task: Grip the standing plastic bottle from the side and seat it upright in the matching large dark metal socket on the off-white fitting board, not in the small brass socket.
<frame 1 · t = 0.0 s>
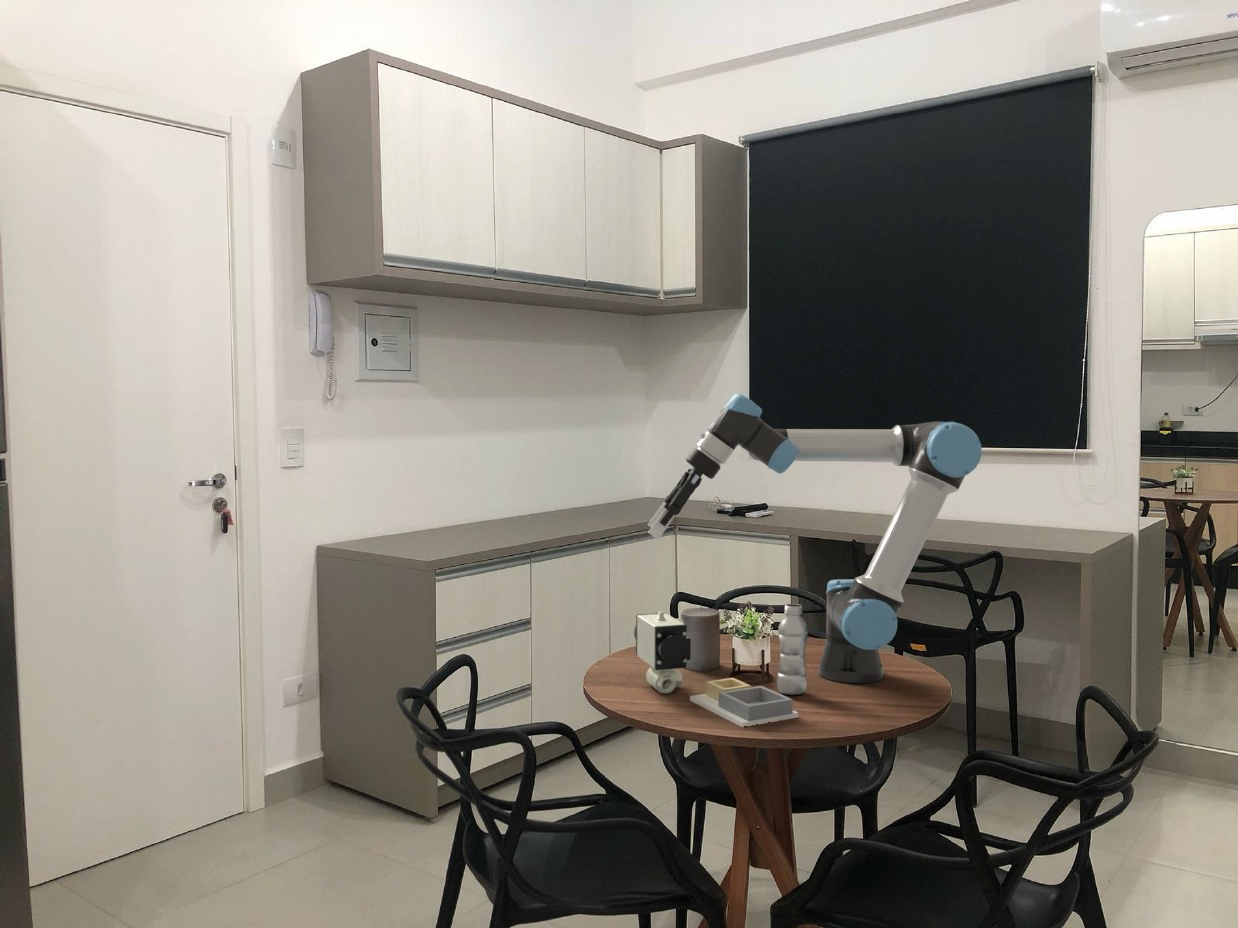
hand: (652, 532, 222), 36 cm above the table, tool tilted 35°, fingers open, 13 cm apart
fitting board: (742, 708, 210), on the table
plastic bottle: (791, 694, 221), on the table
pillar candle: (699, 666, 244), on the table
ball valve: (663, 690, 224), on the table
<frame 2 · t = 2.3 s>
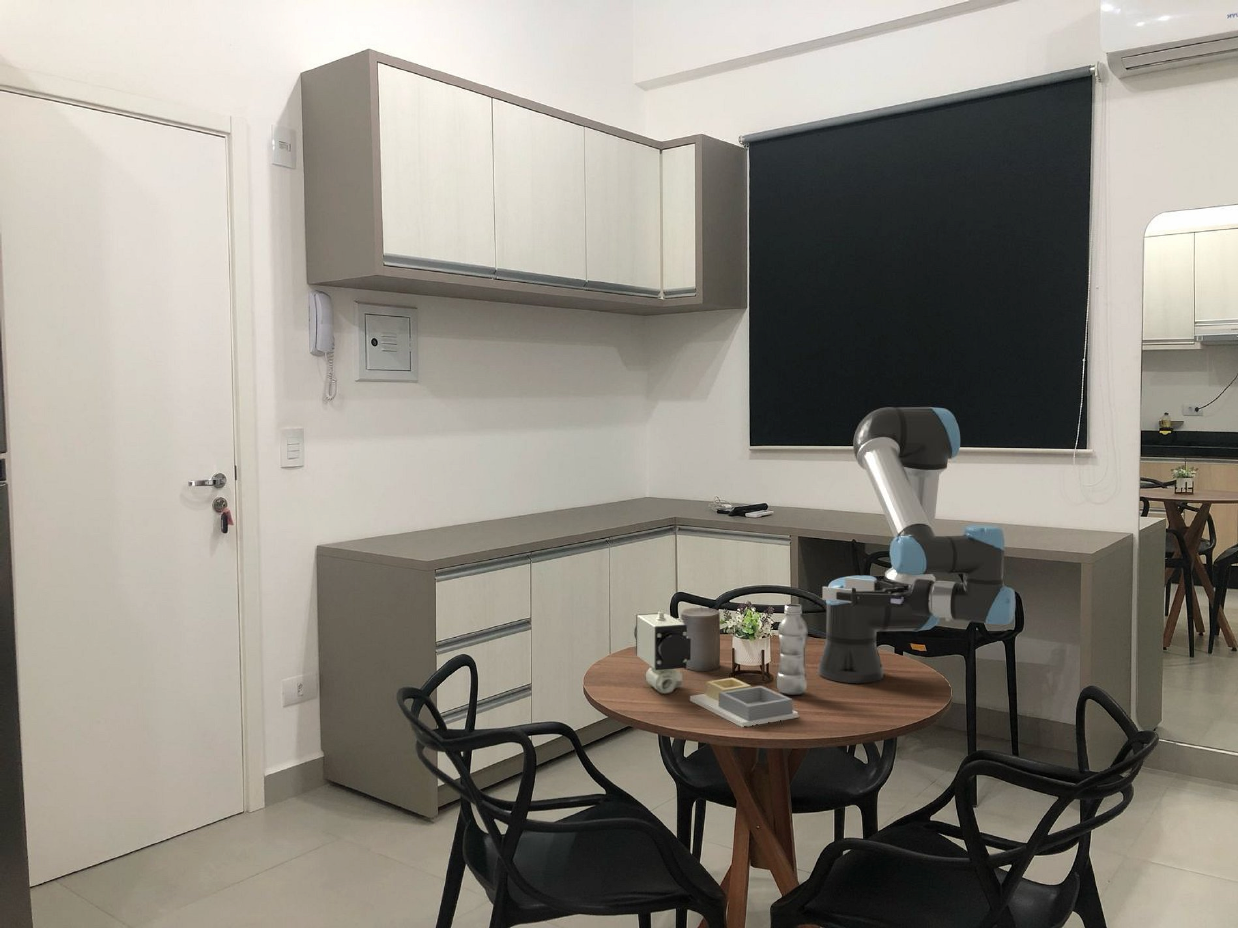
hand: (834, 588, 214), 25 cm above the table, tool horizontal, fingers open, 13 cm apart
nothing on the table moved.
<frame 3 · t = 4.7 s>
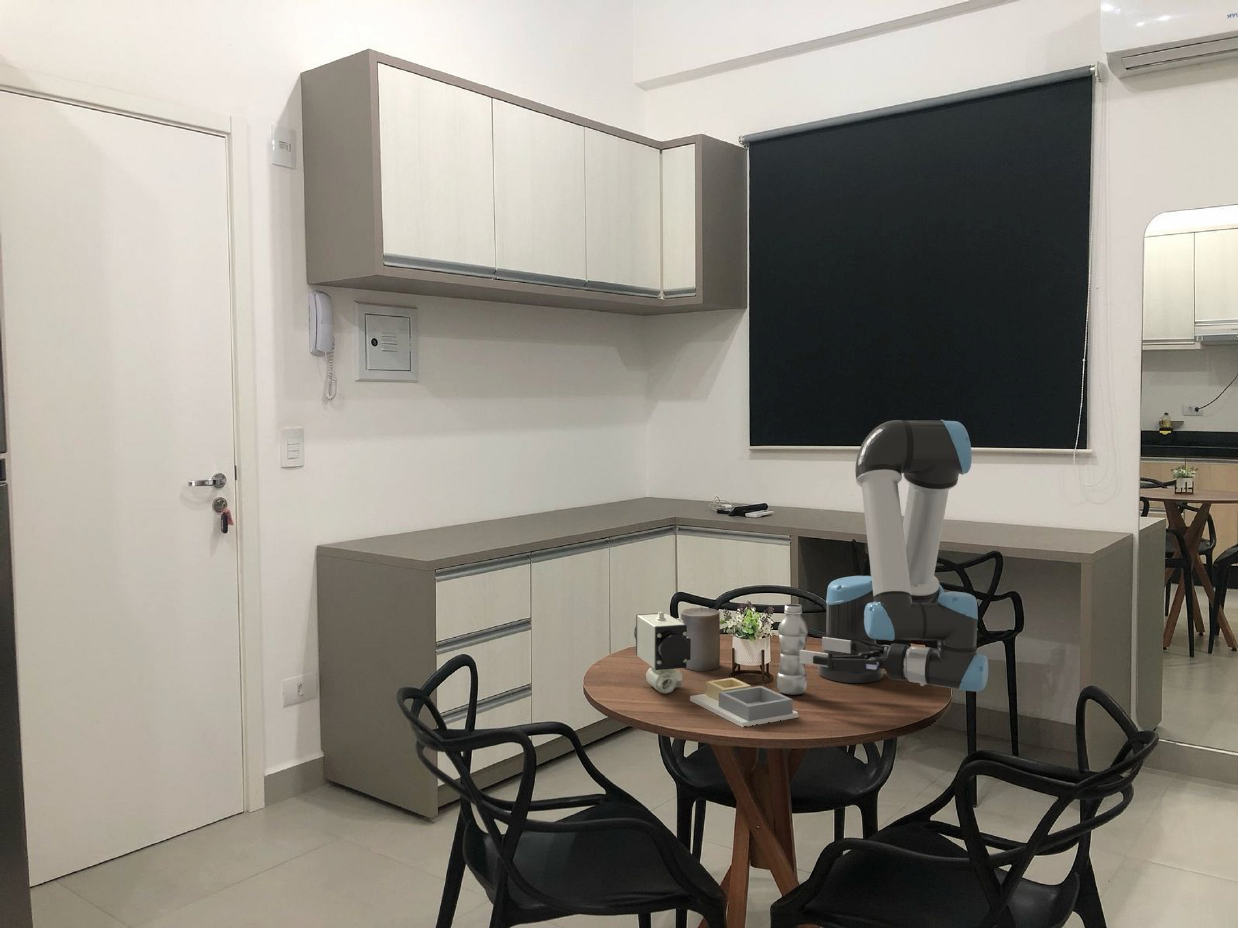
hand: (811, 649, 217), 11 cm above the table, tool horizontal, fingers open, 13 cm apart
nothing on the table moved.
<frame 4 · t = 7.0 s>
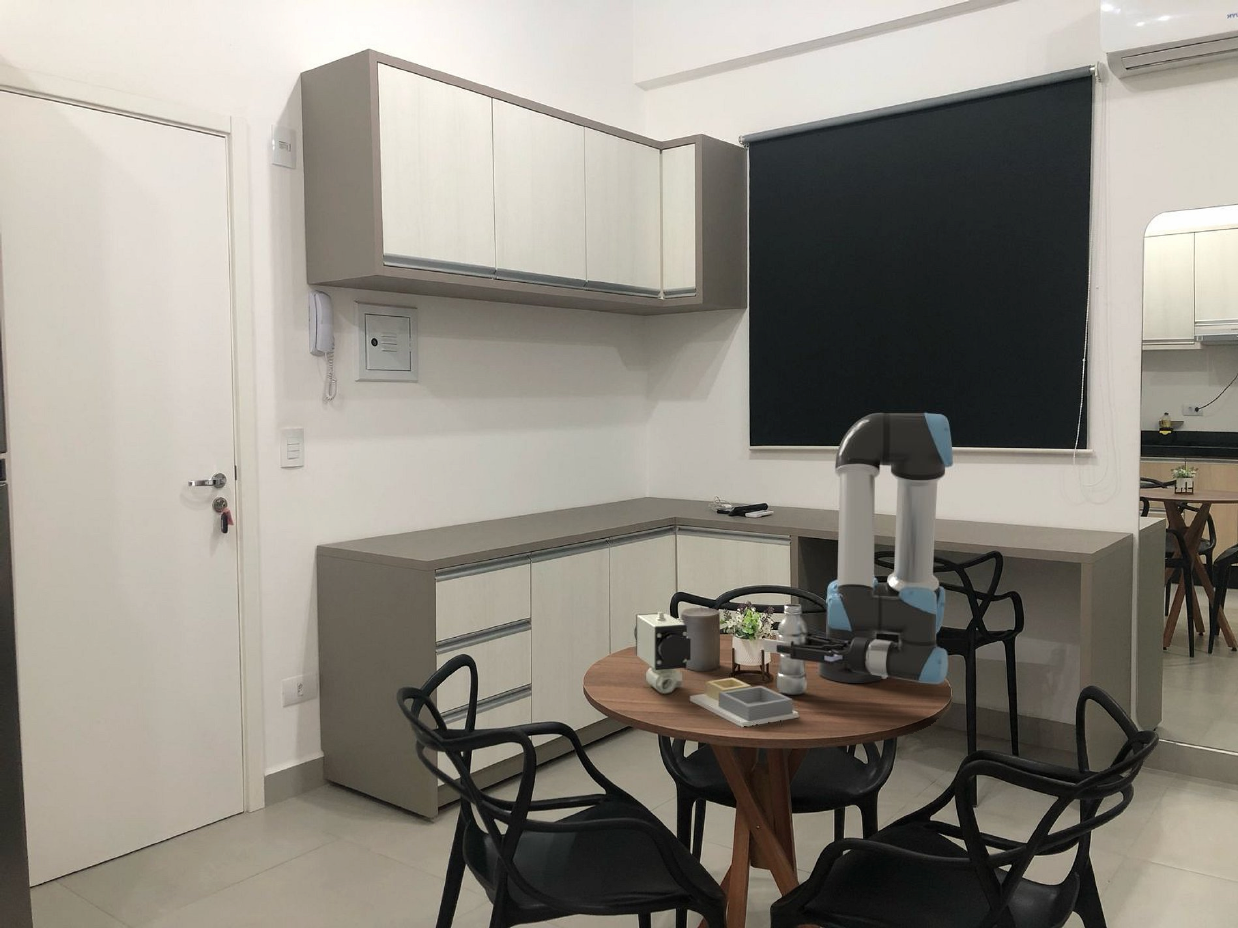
hand: (771, 642, 223), 11 cm above the table, tool horizontal, fingers closed on plastic bottle, 6 cm apart
plastic bottle: (791, 694, 221), on the table, touching gripper
everything else where it was.
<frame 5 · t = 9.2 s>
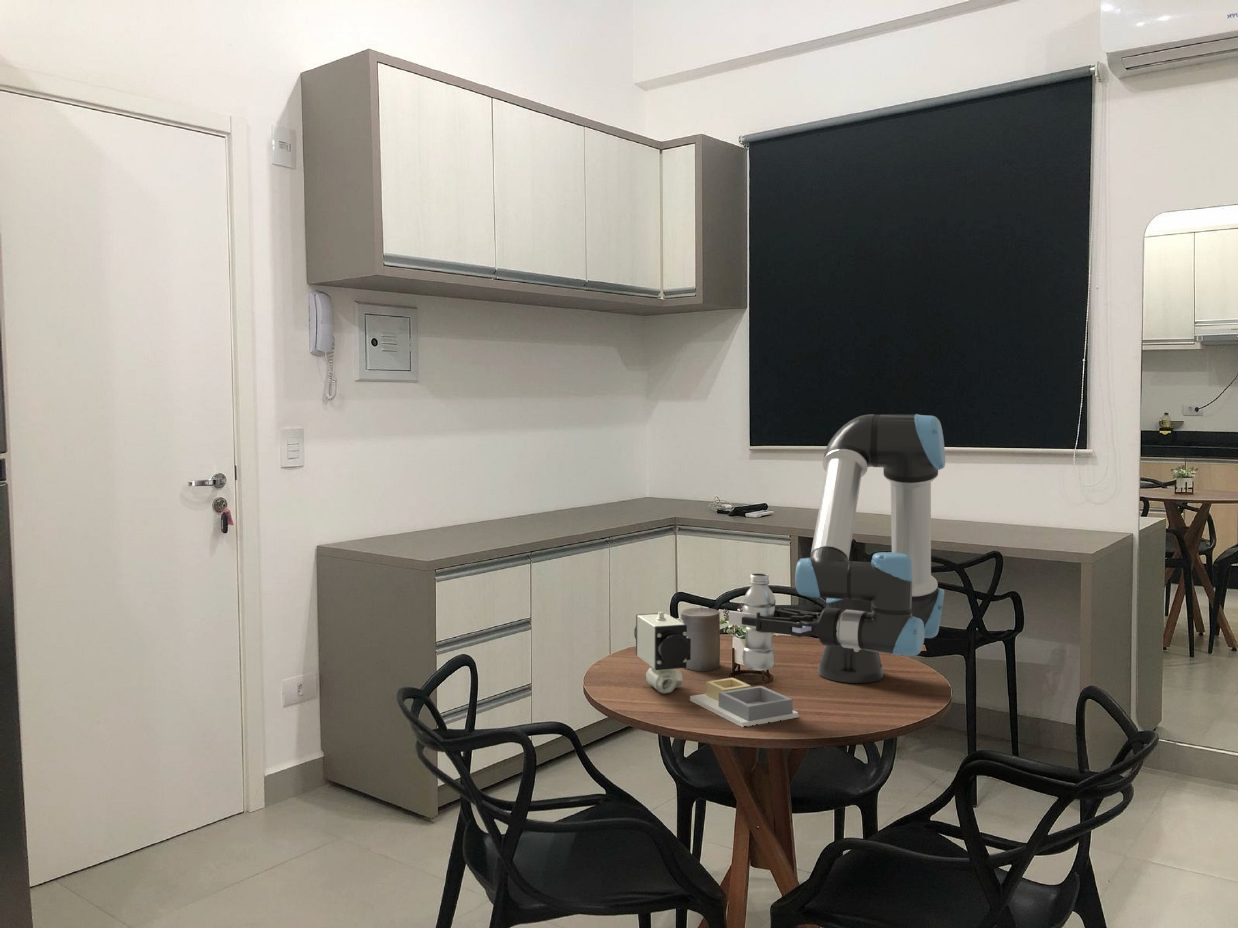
hand: (736, 614, 208), 20 cm above the table, tool horizontal, fingers closed on plastic bottle, 6 cm apart
plastic bottle: (758, 670, 206), point 9 cm above the table, touching gripper
everything else where it was.
when the fingers open (13 cm above the table, at t = 11.3 s): plastic bottle stays where it is, resting on fitting board.
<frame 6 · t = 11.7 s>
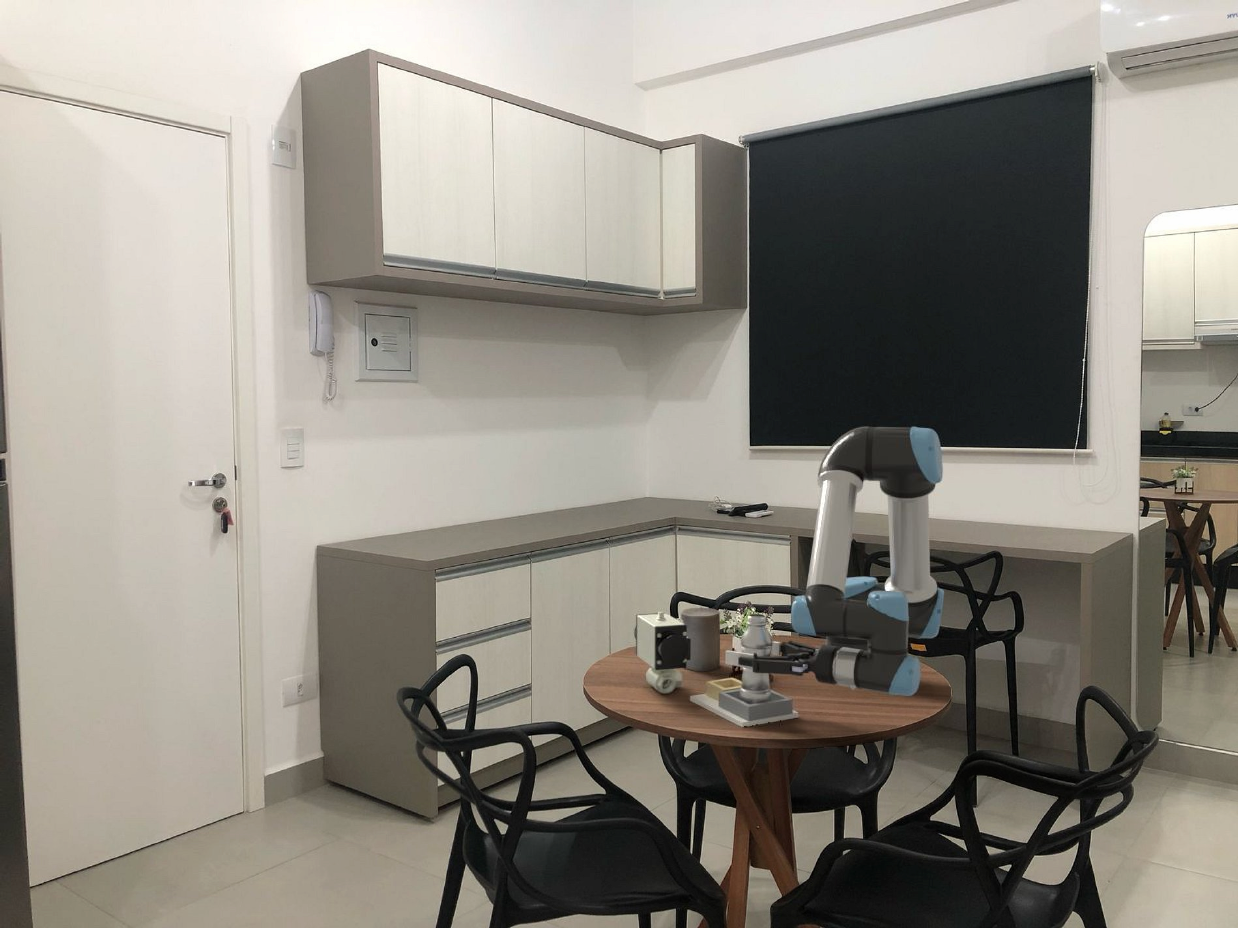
hand: (739, 650, 207), 13 cm above the table, tool horizontal, fingers open, 11 cm apart
plastic bottle: (754, 710, 206), point 1 cm above the table, touching fitting board
everything else where it was.
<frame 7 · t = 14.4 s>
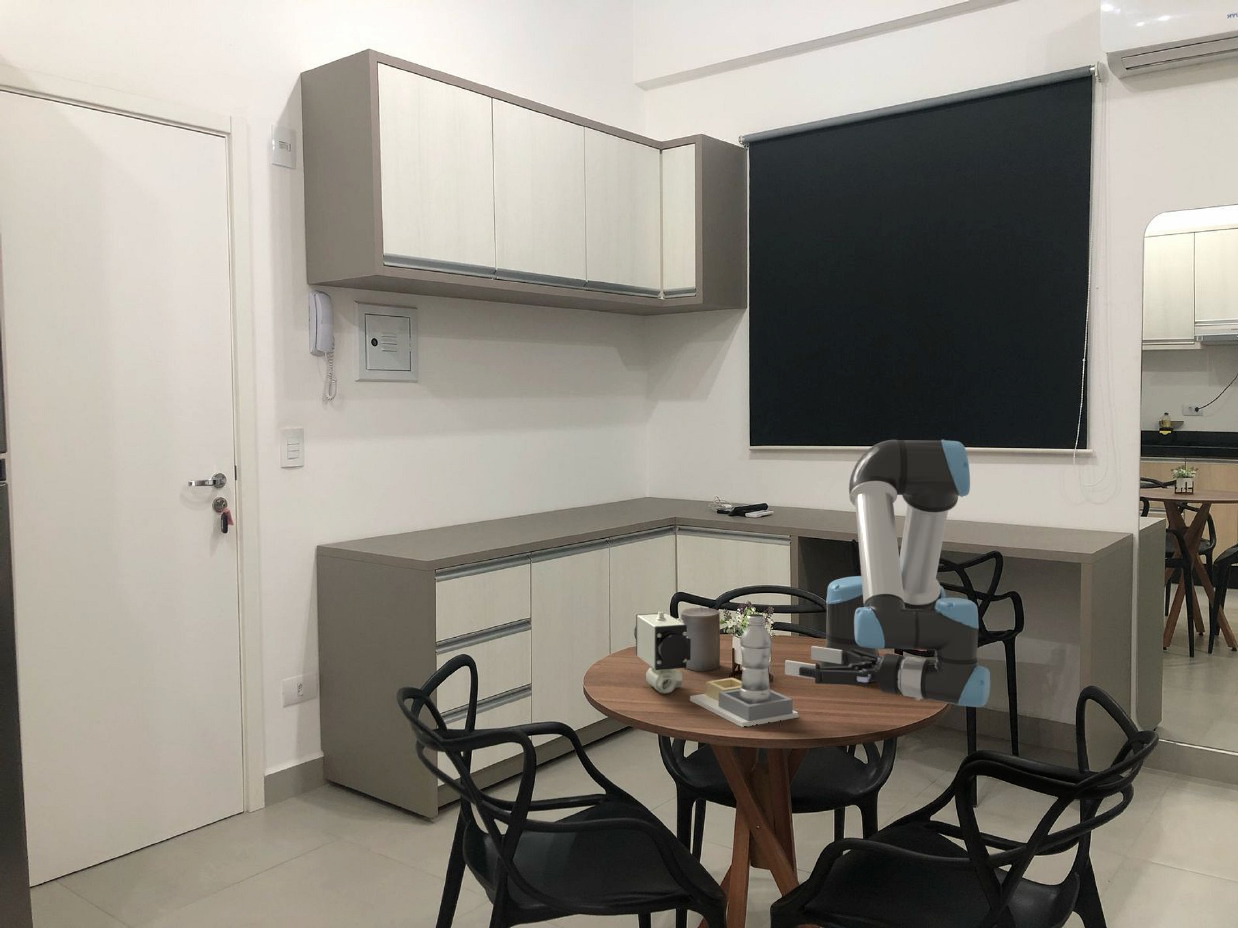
hand: (798, 659, 200), 13 cm above the table, tool horizontal, fingers open, 13 cm apart
nothing on the table moved.
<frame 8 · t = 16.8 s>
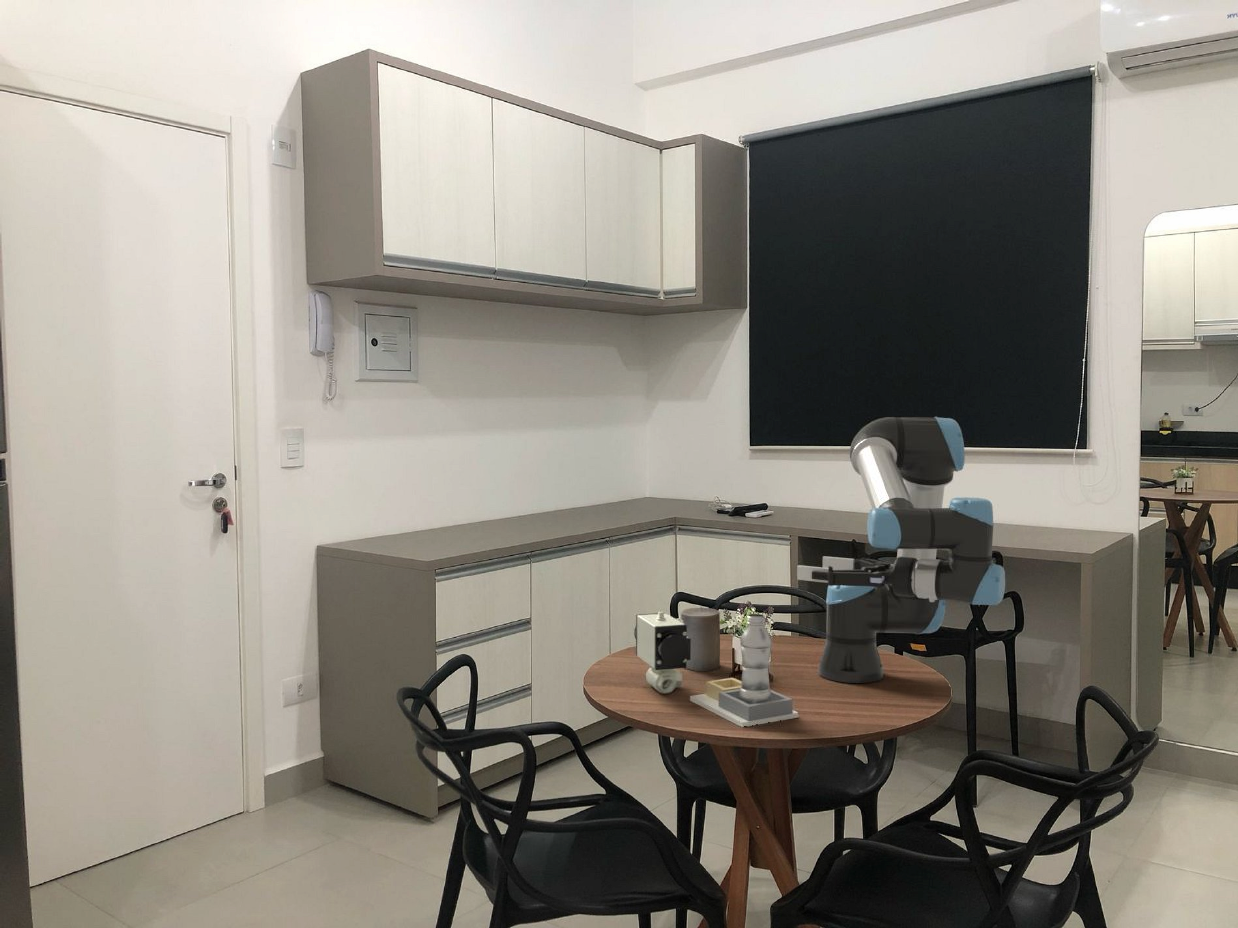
hand: (810, 567, 198), 32 cm above the table, tool horizontal, fingers open, 13 cm apart
nothing on the table moved.
at the end: plastic bottle 0.1 cm from the target spot on the fitting board, point 0.8 cm above the fitting board's base; plastic bottle tilted 0°; the gripper is holding nothing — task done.
